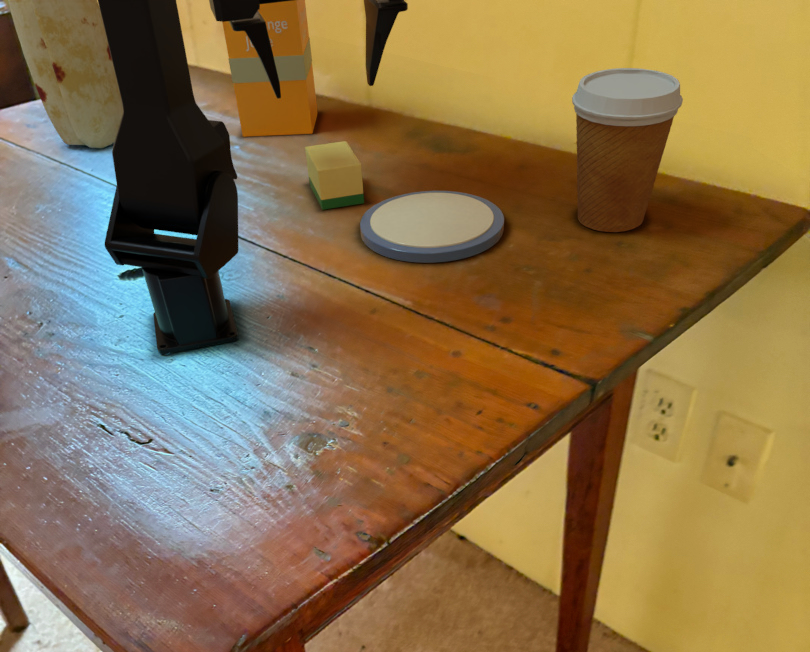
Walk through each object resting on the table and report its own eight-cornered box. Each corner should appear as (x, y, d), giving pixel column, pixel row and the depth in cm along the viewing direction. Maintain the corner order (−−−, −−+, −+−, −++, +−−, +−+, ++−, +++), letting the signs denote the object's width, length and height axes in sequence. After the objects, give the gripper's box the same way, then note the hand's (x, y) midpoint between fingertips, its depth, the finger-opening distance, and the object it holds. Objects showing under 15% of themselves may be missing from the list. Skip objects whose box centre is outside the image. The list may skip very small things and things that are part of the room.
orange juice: (312, 133, 99) (288, -68, 85) (241, 137, 99) (206, -63, 85) (318, 112, 104) (296, -80, 90) (251, 115, 105) (218, -76, 90)
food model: (133, 128, 103) (81, -64, 89) (137, 145, 99) (83, -54, 85) (55, 139, 102) (-11, -55, 87) (55, 158, 97) (-14, -44, 83)
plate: (525, 248, 75) (526, 235, 74) (380, 273, 73) (379, 261, 72) (476, 191, 84) (476, 180, 84) (346, 212, 82) (345, 200, 81)
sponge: (364, 203, 84) (361, 163, 81) (322, 210, 83) (317, 170, 80) (349, 178, 88) (346, 140, 86) (309, 185, 88) (304, 146, 85)
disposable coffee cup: (678, 214, 78) (706, 77, 70) (625, 249, 74) (648, 108, 65) (596, 190, 83) (612, 60, 75) (541, 222, 78) (551, 87, 70)
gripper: (386, -133, 74) (395, 57, 85) (184, -115, 71) (220, 80, 82) (420, -120, 67) (425, 87, 78) (195, -98, 64) (233, 114, 75)
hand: (324, 91), depth 78 cm, fingers open, 9 cm apart
